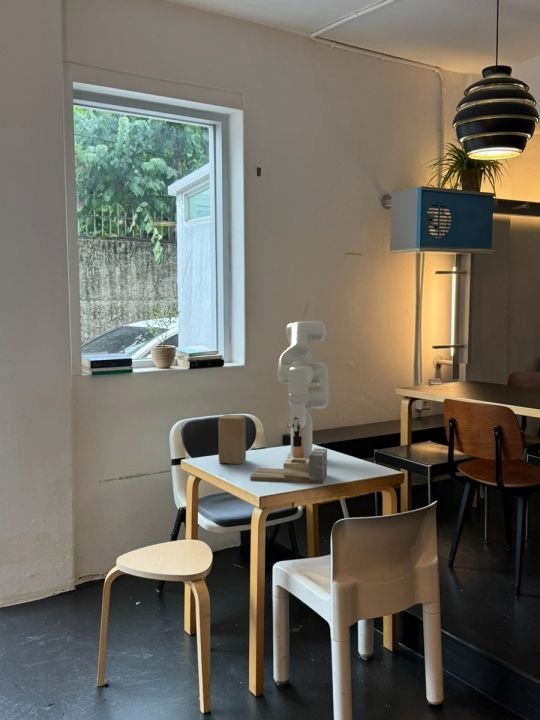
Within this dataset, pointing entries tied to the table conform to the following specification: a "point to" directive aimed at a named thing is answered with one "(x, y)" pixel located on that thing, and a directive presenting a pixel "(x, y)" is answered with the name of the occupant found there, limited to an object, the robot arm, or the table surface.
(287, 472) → the sliding block
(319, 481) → the backstop board
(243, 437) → the block
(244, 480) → the table surface
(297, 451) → the dowel
